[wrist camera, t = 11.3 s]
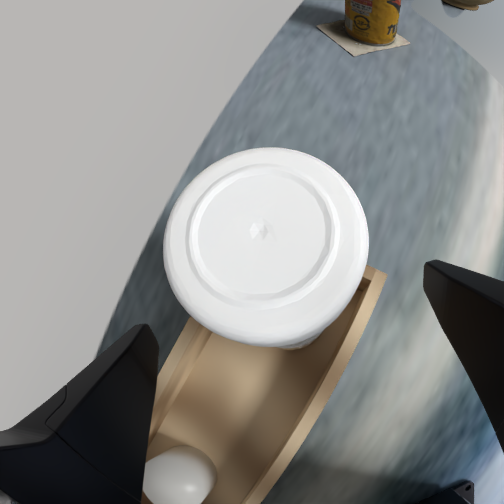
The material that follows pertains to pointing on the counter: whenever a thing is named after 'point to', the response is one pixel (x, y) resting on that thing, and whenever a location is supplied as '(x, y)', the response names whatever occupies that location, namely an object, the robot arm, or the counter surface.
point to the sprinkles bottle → (266, 247)
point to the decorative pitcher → (467, 3)
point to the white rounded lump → (179, 476)
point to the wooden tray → (252, 397)
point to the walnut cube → (145, 499)
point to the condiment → (367, 26)
